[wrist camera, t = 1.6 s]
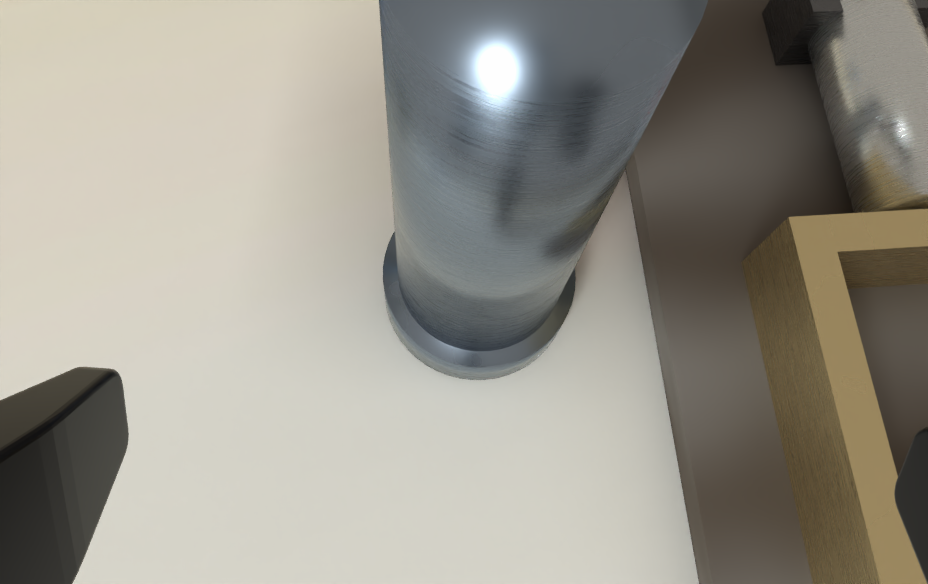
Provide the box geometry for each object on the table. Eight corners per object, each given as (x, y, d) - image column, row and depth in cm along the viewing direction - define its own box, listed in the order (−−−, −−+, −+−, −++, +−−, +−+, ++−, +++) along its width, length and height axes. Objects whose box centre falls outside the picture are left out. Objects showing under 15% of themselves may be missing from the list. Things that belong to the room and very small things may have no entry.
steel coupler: (577, 372, 22) (780, 117, 10) (390, 386, 21) (352, 137, 9) (553, 204, 23) (700, -194, 11) (380, 214, 23) (338, -189, 11)
